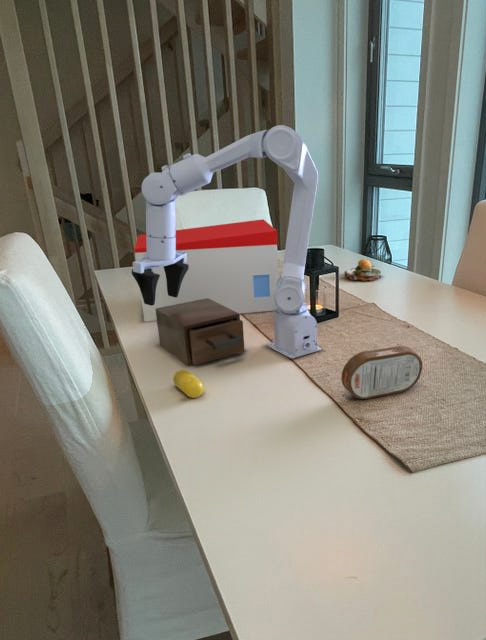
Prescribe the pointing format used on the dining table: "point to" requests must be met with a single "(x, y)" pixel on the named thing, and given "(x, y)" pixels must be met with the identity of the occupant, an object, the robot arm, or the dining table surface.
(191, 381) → the yellow oval capsule
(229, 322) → the drawer
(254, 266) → the red-topped white box
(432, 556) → the dining table surface
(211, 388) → the dining table surface
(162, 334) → the cabinet
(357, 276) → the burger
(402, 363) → the tin
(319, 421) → the dining table surface
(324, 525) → the dining table surface
